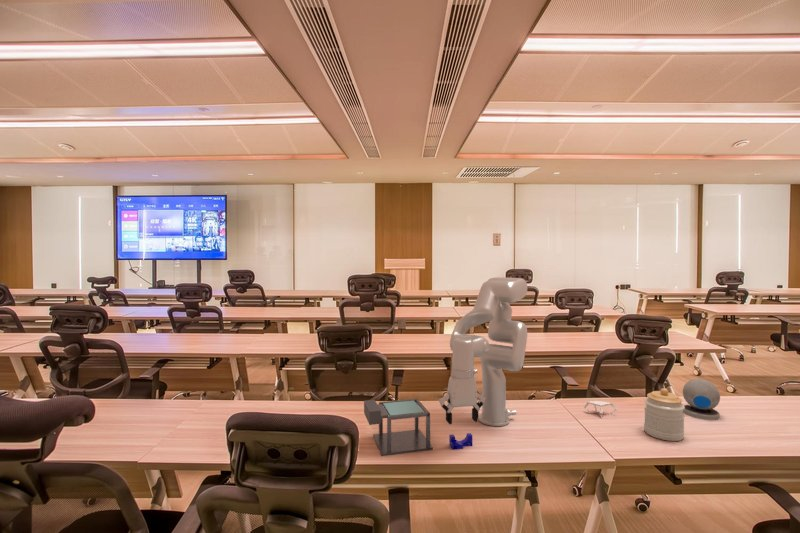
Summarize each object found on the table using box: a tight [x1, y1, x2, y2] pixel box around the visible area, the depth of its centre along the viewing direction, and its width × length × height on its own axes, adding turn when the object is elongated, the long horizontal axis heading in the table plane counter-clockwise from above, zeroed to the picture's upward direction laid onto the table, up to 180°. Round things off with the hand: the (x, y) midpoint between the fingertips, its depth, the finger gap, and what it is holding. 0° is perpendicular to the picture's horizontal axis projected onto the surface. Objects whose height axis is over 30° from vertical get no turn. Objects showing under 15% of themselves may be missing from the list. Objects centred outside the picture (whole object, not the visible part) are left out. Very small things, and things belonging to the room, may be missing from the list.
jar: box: [643, 387, 685, 442], centre depth 155 cm, size 13×13×18 cm
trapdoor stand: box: [372, 398, 434, 457], centre depth 148 cm, size 18×16×13 cm
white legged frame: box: [584, 400, 618, 418], centre depth 175 cm, size 12×8×5 cm
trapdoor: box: [363, 399, 424, 426], centre depth 147 cm, size 19×12×5 cm, turn 105°
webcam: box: [682, 378, 721, 421], centre depth 175 cm, size 13×13×15 cm
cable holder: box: [448, 432, 473, 450], centre depth 145 cm, size 8×4×4 cm, turn 99°
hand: (462, 421), depth 144 cm, fingers open, 9 cm apart
